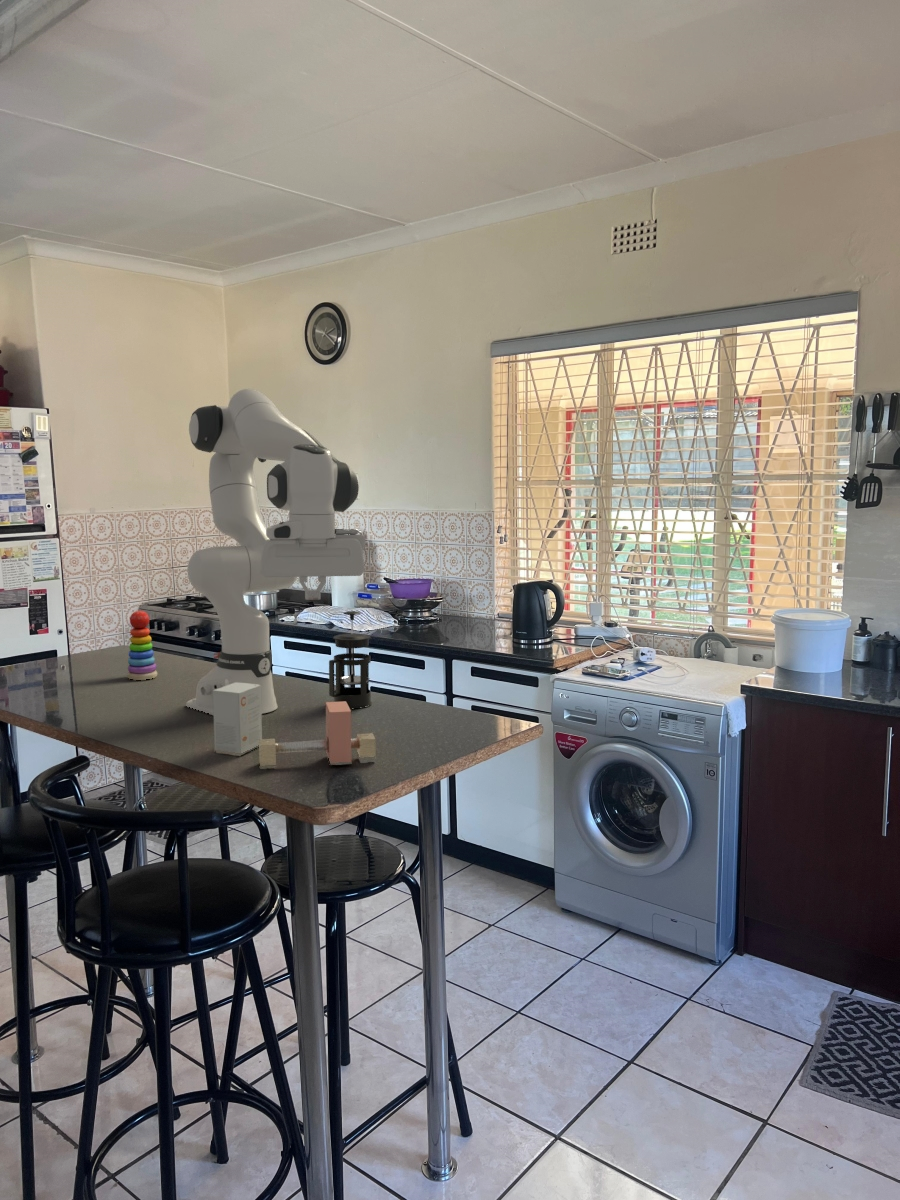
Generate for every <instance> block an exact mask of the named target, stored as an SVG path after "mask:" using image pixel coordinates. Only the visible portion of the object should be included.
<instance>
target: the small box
mask: <svg viewBox="0 0 900 1200" xmlns="http://www.w3.org/2000/svg"><path fill="white" fill-rule="evenodd" d="M212 716H213V735H214V736H213V738H214V740H213V741H214V744H213V745H214V751H215V750H221V751H228V752H235V753H243V752H245V751H247V750H250V749H252V748H254V747H256V746H258V745H259V739H263V728H262V727H263V726H262V725H263V724H262V723H263V722H262V721H263V720H262V719H263V718H262V717H263V716H262V714H261V685H257V684H249V683H237V682H235V683H233V684H230V685H227V686H224V687H221V688H219V689H216V690H213V715H212Z"/></svg>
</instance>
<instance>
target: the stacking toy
mask: <svg viewBox="0 0 900 1200" xmlns="http://www.w3.org/2000/svg"><path fill="white" fill-rule="evenodd" d="M149 623H150V616H149V614H148V613H147V612H145V611H143V610H136V611H134V612H133V613H131V615H130V616H129V624H130V625H131V627H132V628H131V629H130V635H131V637H130V638H129V641H130V644H128V645H129V646H128V647H129V651H128V657H129V658H128V659H127V663H128V667H127V670H128V672H127V673H126V676H127V677H126V678H127V679H128V678H129V679H128V680H130V679H134V680H133V681H136V680H141V681H147V680H146V679H150V680H152V678H153V679H155V678H157V676H158V671H157V664H156V663H155V662H156V661H155V657H154V654H155V653H154V650H153V643H152V640H153V639H152V637H151V635H150V633H151V630H150V629H149V628H148V627H147V626H148V625H149Z"/></svg>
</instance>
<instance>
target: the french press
mask: <svg viewBox="0 0 900 1200" xmlns="http://www.w3.org/2000/svg"><path fill="white" fill-rule="evenodd" d="M343 614H344V615H348V616H349V620H350V621H351V622H350V623H351V626H350V627H351V628H350V629H351V631H350V632H351V633H341V634H337V635H334V636H333V640H335V644H334V645H335V647H336V648H339V649H340V648H341V649H351V650H350V651H351V653H350V652H349V653H348V652H347V653H346V652H345V653H339V654H336V655H333V659H330V660H329V661H328V686H329V687H328V693H329V697H332V698H333V702H342V701H346V702H347V704H348V706H349V708H350V710H353V709H352V708H360V707H365V706H368V705H371V704H373V703H372V702H373V701H372V699H371V698H372V695H371V694H372V691H371V689H369V688H370V686H369V684H370V683H369V681H370V675H369V674H370V672H369V670H370V669H369V664H371V661H372V659H371V655H369V654H367V653H359V652H354V649H361V648H367V647H369V645H370V644H369V641H370V640H371V635H368V634H364V633H363V634H362V633H354V620H355V616H358V615H362V614H361V612H359V611H356V610H355V611H353V610H349V611H345V612H343ZM345 666H351V674H350V675H349V674H348V675H345V671H346V670H345V668H346V667H345ZM354 666H359V667H360V671H359V672H360V675H355V674H354ZM358 685H360V687H358ZM345 686H347V687H345ZM348 686H349V687H348ZM350 686H351V687H350ZM371 706H372V705H371Z"/></svg>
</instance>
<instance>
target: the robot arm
mask: <svg viewBox="0 0 900 1200" xmlns="http://www.w3.org/2000/svg"><path fill="white" fill-rule="evenodd" d="M188 432H189V436H190V437H189V438H190V441H191V443H192V445H193V447H194V448H195V449H196V450H199V451H201V452H205V453H214V454H213V455H212V456H211V458H210V461H209V470H208V486H209V487H208V488H209V489H208V490H209V496H210V503H211V512H212V520H213V523H214V525H215V527H216V529H217V530H218V531H219V532H221V533H222V534H224V535H225V536H228V537H230V538H232V539H234V540H235V541H236V542H237V543H238V544H239V545H233V546H232V545H229V546H213V547H207V548H203V549H199V550H195V552H194V553H192V554H191V556H190V559H189V560H188V564H187V567H186V568H187V571H186V572H187V577H188V581H189V583H190V584H191V585H192V587H193V588H194V590H196V591H197V592H199V593H200V594H201V595H203V596H204V597H205V598H206V599H207V600H209V602H210V603H211V605H212V606H213V608H214V609H215V611H216V614H217V616H218V619H219V625H220V626H219V627H220V634H221V651H220V652H216V653H213V654H212V655H213V656H214V655H215V656H214V657H213V659H217V662H216V666H214V667H213V668H212V669H211V670H210V671H209V672H208V673H207V674H205V675H204V676H203V677H201V678H200V679H199V680H198V682H197V685H196V690H195V698H192V699H190V700H188V701H186V702H185V707H186V706H187V708H189V707H190V709H192V708H193V709H192V710H195V709H196V710H195V711H198V710H199V712H201V711H203V712H202V713H204V712H205V714H207V713H209V715H211V716H214V715H213V690H216V689H219V688H221V687H224V686H227V685H230V684H233V683H235V682H237V683H249V684H257V685H261V715H263V714H266V713H271V712H273V711H275V710H277V709H278V703H277V697H276V695H275V690H274V682H273V675H272V674H273V673H272V670H271V668H272V665H273V660H272V659H273V655H272V650H271V649H270V646H271V645H270V620H269V618H268V616H267V615H266V614H265V612H263V611H262V610H260V609H258V608H257V607H254V606H253V605H252V606H251V605H249V604H247V603H246V601H245V598H244V594H246V593H263V592H264V593H265V592H275V591H279V590H283V589H286V588H291V587H292V585H294V584H295V583H296V580H297V578H298V581H299V583H300V585H301V587H302V588H303V590H304V598H305V600H306V601H309V600H313V601H314V600H318V601H319V600H321V599H322V598H321V596H322V595H321V591H322V590H323V589H324V587H325V585H326V583H327V577H361V576H362V575H363V573H365V560H364V552H363V551H364V549H365V547H366V536H365V534H364V533H363V532H362V531H359V530H358V528H351V529H346V528H336V524H335V523H336V522H335V520H336V515H335V514H336V513H335V512H337V513H344V512H346V511H347V510H348V509H349V508H350V507H351V506H352V505H353V504H354V502H355V501H356V499H358V495H359V489H360V488H359V487H360V486H359V481H358V477H357V475H356V474H355V472H354V471H353V469H352V468H351V467H350V466H349V465H348V464H347V463H346V462H343V461H340V460H338V459H337V458H336V456H334V455H333V454H332V452H331V450H330V449H328V448H327V447H325V446H324V445H323V444H322V443H321V442H320V441H319V440H318V439H317V438H316V437H315V436H314V435H313V434H311V433H310V432H309V431H306V430H304V428H301V427H300V426H298V425H296V424H295V423H294V422H292V421H291V420H290V419H288V418H287V417H286V416H284V415H283V413H282V412H281V411H280V410H279V408H278V407H277V406H276V405H275V403H274V402H273V401H272V400H271V399H270V398H268V396H266V394H264V393H262V392H261V391H259V390H258V389H254V388H243V389H241V390H239V391H237V392H235V393H234V394H233V396H232V397H231V398H230V400H229V402H228V406H217V405H216V404H214V405H206V406H201V407H198V408H196V409H195V410H194V411H193V412H192V413H191V416H190V420H189V424H188ZM256 459H257V460H258V461H259V462H260V463H265V462H267V461H268V460H269V461H278V462H282V463H279V464H278V463H277V464H276V465H274V466H273V468H272V469H270V471H269V472H268V473H267V476H266V492H267V493H266V494H267V499H268V501H270V503H271V504H272V505H273V506H275V508H277V509H278V510H283V511H288V520H285V521H280V522H279V523H277V524H273V525H270V526H268V527H267V525H266V523H265V521H264V519H263V515H262V511H261V507H260V501H259V495H258V489H257V483H256V478H255V474H254V464H255V461H256ZM308 577H309V578H310V577H312V578H313V577H317V581H318V582H319V584H318V586H317V588H316V589H309V588H308V586H307V585H306V583H307V582H308Z"/></svg>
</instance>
